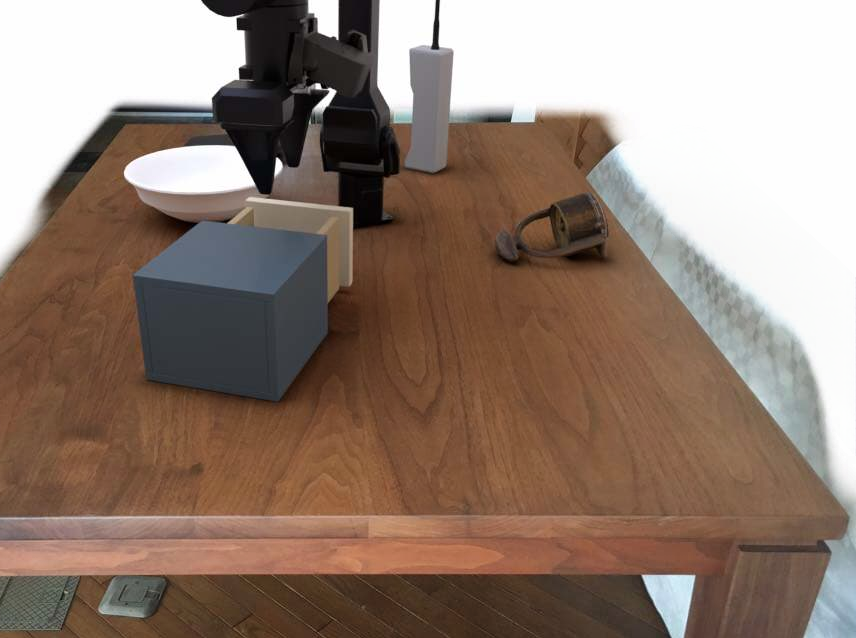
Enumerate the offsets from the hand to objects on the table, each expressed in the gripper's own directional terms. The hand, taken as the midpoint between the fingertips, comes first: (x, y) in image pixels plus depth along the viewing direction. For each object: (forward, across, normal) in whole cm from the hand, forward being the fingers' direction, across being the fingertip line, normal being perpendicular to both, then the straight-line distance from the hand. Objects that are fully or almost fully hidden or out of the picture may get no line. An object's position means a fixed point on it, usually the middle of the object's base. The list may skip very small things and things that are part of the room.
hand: (280, 180), depth 86 cm
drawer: (+12, +1, 0) cm, 12 cm away
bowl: (+13, +24, +17) cm, 32 cm away
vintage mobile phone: (+12, +50, -7) cm, 52 cm away
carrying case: (+12, +48, +22) cm, 54 cm away
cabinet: (+14, -11, +1) cm, 17 cm away
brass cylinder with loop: (+13, +21, -26) cm, 36 cm away
